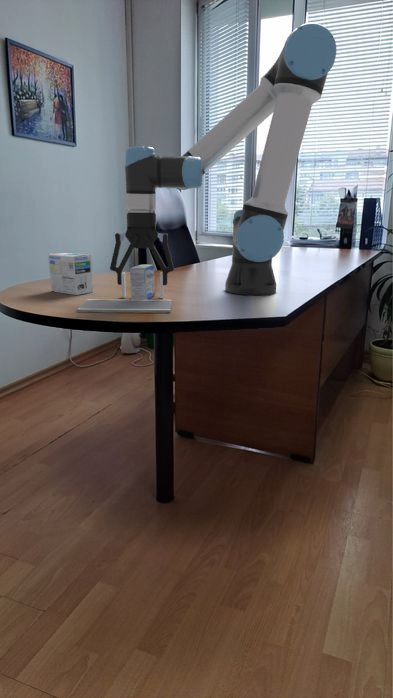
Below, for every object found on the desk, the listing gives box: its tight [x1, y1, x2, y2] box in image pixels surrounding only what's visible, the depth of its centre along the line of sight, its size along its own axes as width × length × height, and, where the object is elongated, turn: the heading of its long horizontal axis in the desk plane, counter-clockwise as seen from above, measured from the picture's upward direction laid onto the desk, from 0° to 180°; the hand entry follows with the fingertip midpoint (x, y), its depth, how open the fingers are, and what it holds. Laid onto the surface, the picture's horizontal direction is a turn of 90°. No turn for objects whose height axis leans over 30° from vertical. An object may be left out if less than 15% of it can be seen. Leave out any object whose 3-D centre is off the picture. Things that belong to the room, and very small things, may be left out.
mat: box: [76, 298, 173, 314], centre depth 118 cm, size 22×12×1 cm, turn 91°
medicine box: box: [129, 263, 156, 300], centre depth 129 cm, size 8×4×9 cm, turn 168°
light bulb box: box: [48, 252, 94, 296], centre depth 135 cm, size 11×7×11 cm, turn 58°
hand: (142, 296), depth 130 cm, fingers open, 9 cm apart
